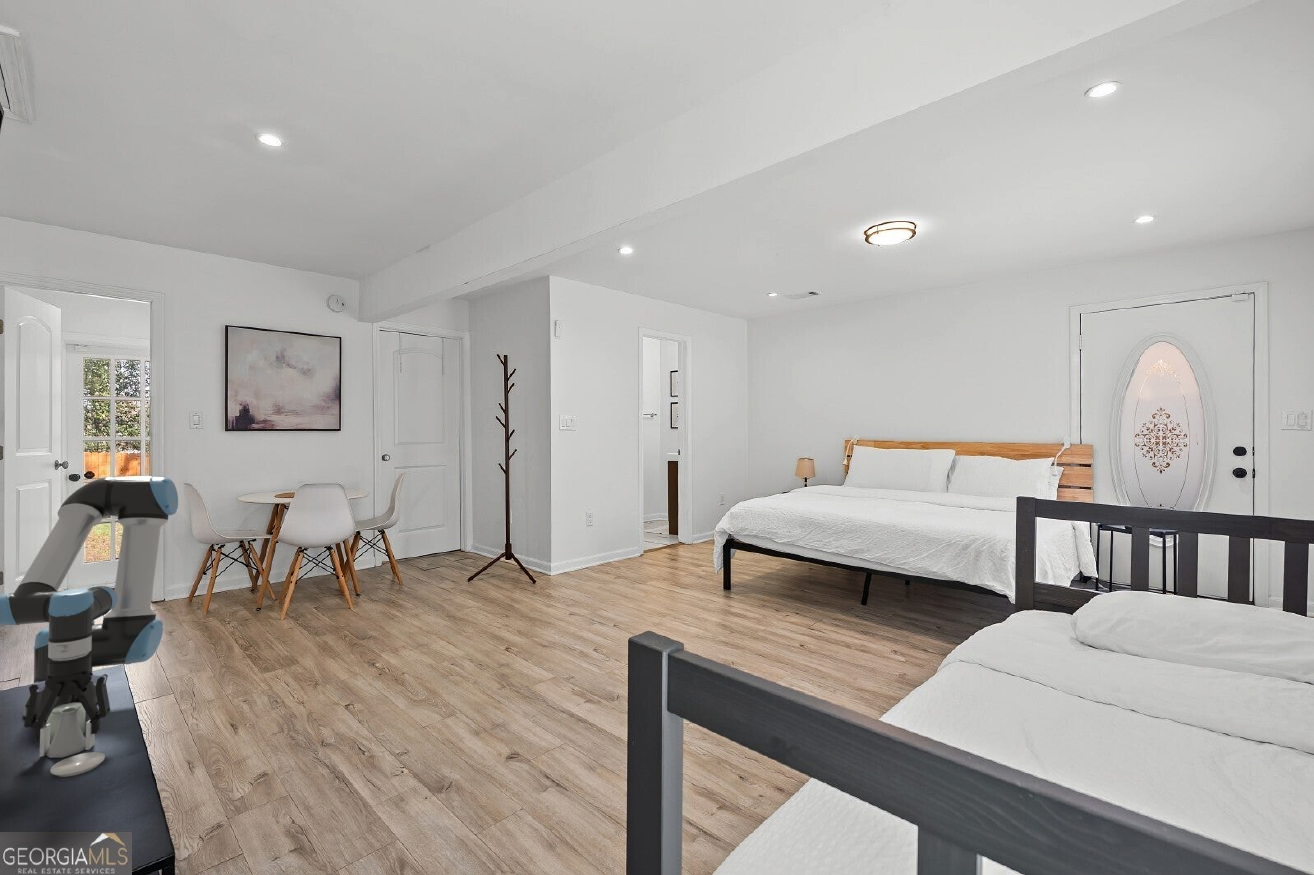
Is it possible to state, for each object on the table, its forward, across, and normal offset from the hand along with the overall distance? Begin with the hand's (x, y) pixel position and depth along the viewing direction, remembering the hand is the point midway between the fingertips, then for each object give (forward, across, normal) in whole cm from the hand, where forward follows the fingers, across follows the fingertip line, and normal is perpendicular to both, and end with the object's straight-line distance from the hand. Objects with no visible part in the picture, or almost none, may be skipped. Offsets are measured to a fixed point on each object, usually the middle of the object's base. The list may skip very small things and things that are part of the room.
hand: (67, 750), depth 144 cm
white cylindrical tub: (0, -4, +10) cm, 11 cm away
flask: (0, 0, 0) cm, 0 cm away
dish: (0, +6, -10) cm, 11 cm away
